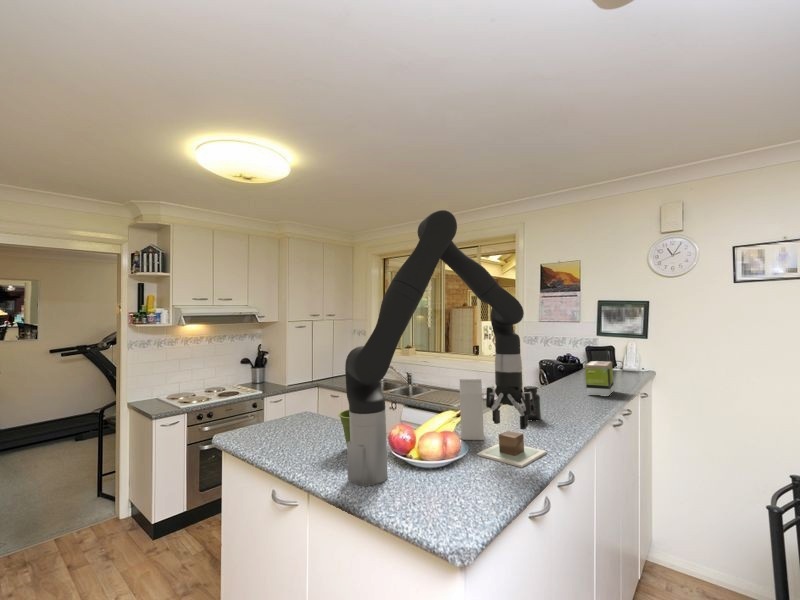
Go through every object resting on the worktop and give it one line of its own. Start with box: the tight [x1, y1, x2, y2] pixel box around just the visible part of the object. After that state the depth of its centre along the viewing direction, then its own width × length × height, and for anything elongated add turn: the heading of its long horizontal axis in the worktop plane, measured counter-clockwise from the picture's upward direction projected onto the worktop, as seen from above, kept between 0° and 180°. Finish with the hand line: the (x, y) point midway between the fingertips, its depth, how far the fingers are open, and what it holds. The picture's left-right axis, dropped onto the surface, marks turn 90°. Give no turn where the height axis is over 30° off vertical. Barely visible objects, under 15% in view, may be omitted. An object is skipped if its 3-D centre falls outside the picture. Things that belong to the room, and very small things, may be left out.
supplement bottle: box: [521, 385, 542, 422], centre depth 151 cm, size 7×7×12 cm
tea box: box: [584, 360, 615, 396], centre depth 191 cm, size 15×10×15 cm, turn 144°
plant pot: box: [338, 409, 350, 445], centre depth 124 cm, size 12×12×11 cm
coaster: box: [476, 443, 548, 468], centre depth 114 cm, size 14×14×1 cm
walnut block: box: [498, 430, 525, 456], centre depth 114 cm, size 5×5×5 cm
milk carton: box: [459, 378, 485, 441], centre depth 131 cm, size 7×7×19 cm
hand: (509, 426), depth 114 cm, fingers open, 8 cm apart
